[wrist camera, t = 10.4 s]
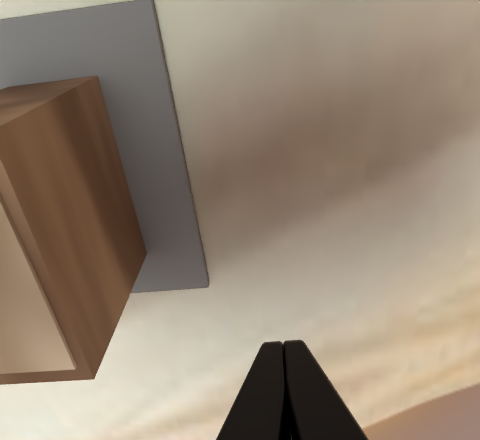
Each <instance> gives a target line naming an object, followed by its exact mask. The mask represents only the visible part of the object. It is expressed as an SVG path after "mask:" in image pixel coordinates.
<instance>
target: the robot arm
mask: <svg viewBox="0 0 480 440" xmlns="http://www.w3.org/2000/svg"><path fill="white" fill-rule="evenodd" d="M291 439H292V440H368V438H367V437H366V435H365V433H364V432H363V430H362V429H361V427H360V426H359V424H358V423H357V421H356V420H355V418H354V417H353V415H352V414H351V412H350V411H349V409H348V408H347V406H346V405H345V403H344V402H343V400H342V399H341V397H340V396H339V394H338V392H337V391H336V389H335V388H334V386H333V385H332V383H331V382H330V380H329V379H328V377H327V376H326V374H325V373H324V371H323V370H322V368H321V367H320V365H319V364H318V362H317V361H316V359H315V358H314V356H313V355H312V353H311V352H310V350H309V349H308V347H307V345H306V344H305V343H304V342H303V341H302V340H291V341H285V342H284V343H282V342H280V341H275V342H264V343H263V344H262V346H261V347H260V350H259V352H258V354H257V356H256V358H255V360H254V362H253V364H252V366H251V368H250V370H249V372H248V374H247V376H246V379H245V381H244V383H243V385H242V387H241V389H240V391H239V393H238V395H237V397H236V399H235V401H234V403H233V405H232V408H231V410H230V412H229V414H228V416H227V418H226V420H225V422H224V424H223V426H222V428H221V430H220V432H219V434H218V437H217V439H216V440H291Z"/></svg>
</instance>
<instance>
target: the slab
mask: <svg viewBox="0 0 480 440" xmlns="http://www.w3.org/2000/svg"><path fill="white" fill-rule="evenodd" d="M146 255H147V252H146V248H145V245H144V241H143V237H142V234H141V230H140V227H139V223H138V219H137V216H136V212H135V209H134V205H133V201H132V198H131V194H130V191H129V187H128V183H127V180H126V176H125V172H124V169H123V165H122V162H121V158H120V154H119V151H118V147H117V144H116V140H115V136H114V133H113V129H112V126H111V122H110V118H109V115H108V111H107V108H106V104H105V100H104V97H103V93H102V89H101V86H100V82H99V79H98V75H97V76H89V77H81V78H73V79H66V80H58V81H50V82H42V83H34V84H26V85H18V86H11V87H6V88H4V89H1V90H0V385H2V384H19V383H37V382H55V381H72V380H90V379H94V378H95V376H96V373H97V371H98V369H99V366H100V364H101V362H102V359H103V357H104V354H105V352H106V350H107V347H108V345H109V343H110V340H111V338H112V336H113V333H114V331H115V328H116V326H117V324H118V321H119V319H120V317H121V314H122V312H123V310H124V307H125V305H126V302H127V300H128V298H129V295H130V293H131V291H132V288H133V286H134V284H135V281H136V279H137V276H138V274H139V272H140V269H141V267H142V265H143V262H144V260H145V257H146Z"/></svg>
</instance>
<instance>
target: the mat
mask: <svg viewBox="0 0 480 440" xmlns="http://www.w3.org/2000/svg"><path fill="white" fill-rule="evenodd" d="M97 75H98V79H99V82H100V86H101V89H102V93H103V97H104V100H105V104H106V108H107V111H108V115H109V118H110V122H111V126H112V129H113V133H114V136H115V140H116V144H117V147H118V151H119V154H120V158H121V162H122V165H123V169H124V172H125V176H126V180H127V183H128V187H129V191H130V194H131V198H132V201H133V205H134V209H135V212H136V216H137V219H138V223H139V227H140V230H141V234H142V237H143V241H144V245H145V248H146V252H147V255H146V257H145V260H144V262H143V265H142V267H141V269H140V272H139V274H138V276H137V279H136V281H135V284H134V286H133V288H132V291H131V293H140V292H154V291H167V290H180V289H193V288H207V287H209V280H208V274H207V269H206V264H205V259H204V254H203V249H202V244H201V239H200V234H199V229H198V224H197V219H196V214H195V209H194V204H193V199H192V194H191V189H190V183H189V178H188V173H187V168H186V163H185V158H184V153H183V148H182V143H181V138H180V133H179V128H178V123H177V118H176V113H175V108H174V103H173V97H172V92H171V87H170V82H169V77H168V72H167V67H166V62H165V57H164V52H163V47H162V42H161V37H160V32H159V27H158V22H157V17H156V12H155V6H154V1H153V0H135V1H128V2H121V3H114V4H107V5H100V6H93V7H86V8H79V9H72V10H65V11H58V12H51V13H44V14H37V15H30V16H23V17H16V18H9V19H2V20H0V90H1V89H4V88H6V87H11V86H18V85H26V84H34V83H42V82H50V81H58V80H66V79H73V78H81V77H89V76H97Z"/></svg>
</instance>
